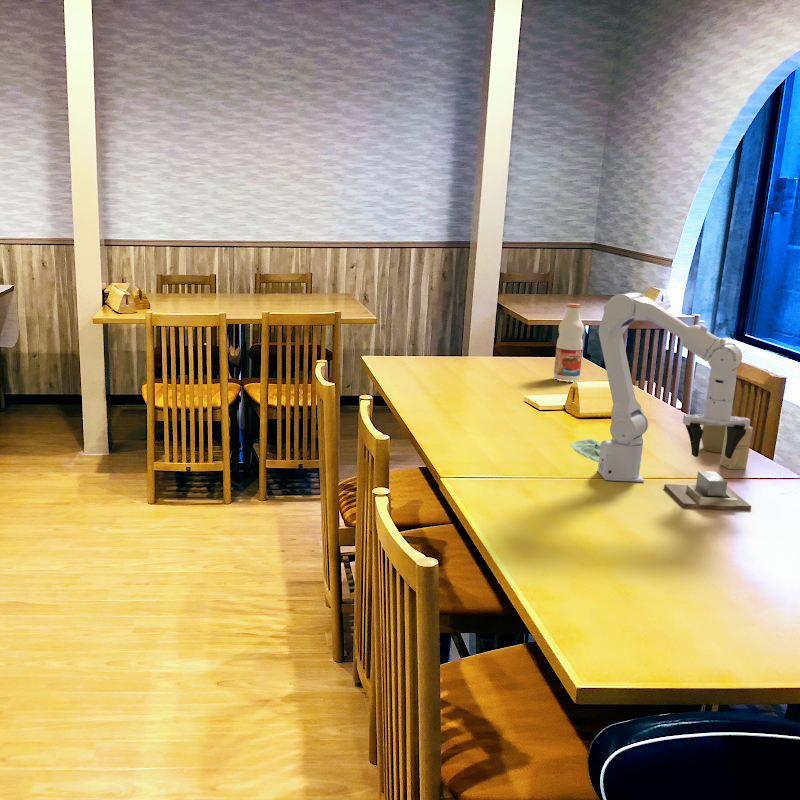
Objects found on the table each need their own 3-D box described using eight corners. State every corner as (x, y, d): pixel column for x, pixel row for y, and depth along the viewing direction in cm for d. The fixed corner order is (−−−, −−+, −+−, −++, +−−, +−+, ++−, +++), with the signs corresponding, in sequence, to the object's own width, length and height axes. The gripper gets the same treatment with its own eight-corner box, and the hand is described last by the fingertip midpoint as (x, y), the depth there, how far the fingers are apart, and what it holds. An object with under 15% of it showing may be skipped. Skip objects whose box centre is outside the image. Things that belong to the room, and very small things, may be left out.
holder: (684, 508, 191) (685, 497, 191) (664, 488, 205) (665, 477, 204) (751, 511, 192) (753, 500, 192) (727, 490, 205) (728, 480, 205)
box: (729, 469, 222) (735, 427, 219) (719, 464, 226) (725, 423, 223) (747, 469, 223) (753, 427, 221) (736, 463, 227) (742, 422, 225)
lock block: (706, 502, 193) (709, 480, 192) (694, 491, 200) (697, 471, 199) (724, 503, 193) (727, 481, 192) (712, 492, 200) (715, 471, 199)
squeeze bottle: (732, 455, 235) (742, 390, 230) (700, 452, 236) (710, 387, 232) (727, 447, 242) (736, 384, 238) (697, 444, 244) (705, 381, 240)
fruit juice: (568, 376, 327) (575, 302, 321) (584, 382, 319) (592, 305, 312) (548, 378, 323) (555, 302, 316) (564, 383, 315) (571, 305, 308)
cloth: (578, 439, 245) (579, 430, 245) (657, 454, 234) (658, 446, 234) (551, 455, 228) (552, 446, 227) (634, 473, 217) (635, 463, 217)
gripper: (694, 400, 192) (685, 460, 195) (759, 404, 192) (750, 463, 195) (683, 393, 198) (675, 450, 202) (746, 396, 199) (737, 453, 202)
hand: (711, 456), depth 199 cm, fingers open, 7 cm apart
